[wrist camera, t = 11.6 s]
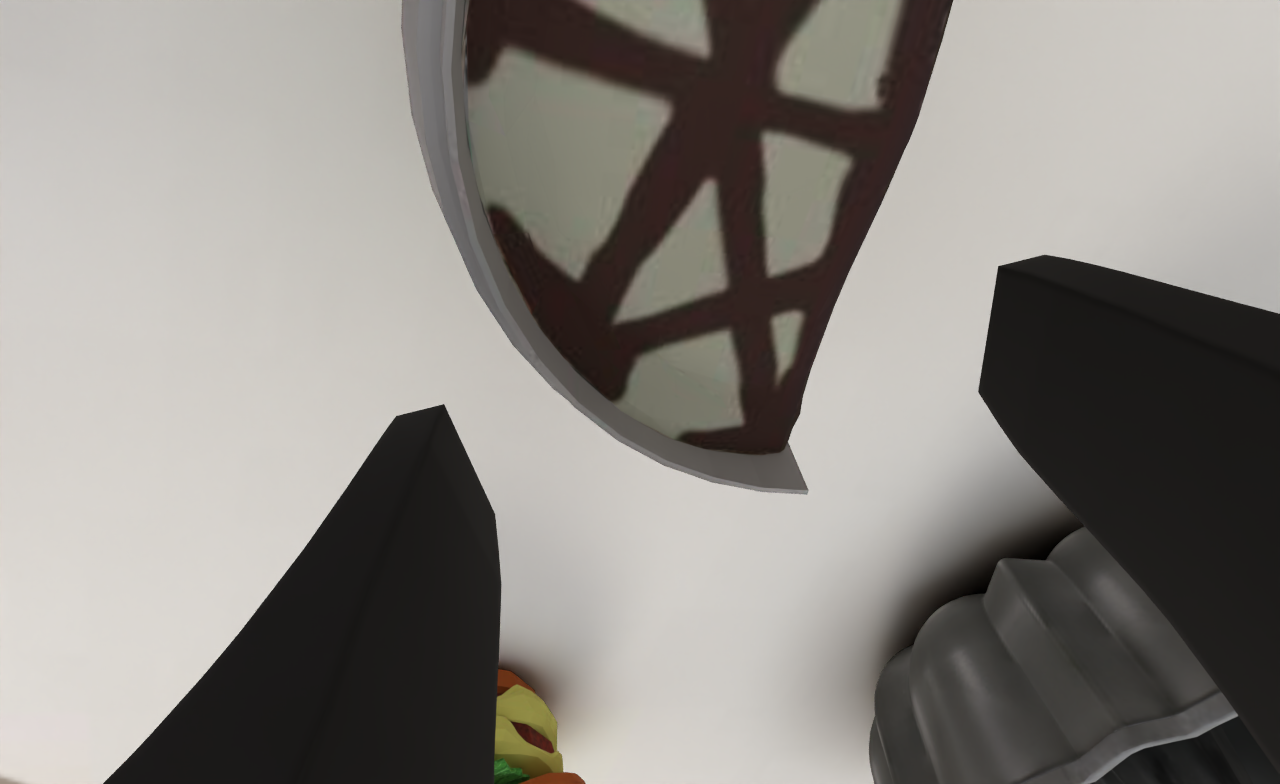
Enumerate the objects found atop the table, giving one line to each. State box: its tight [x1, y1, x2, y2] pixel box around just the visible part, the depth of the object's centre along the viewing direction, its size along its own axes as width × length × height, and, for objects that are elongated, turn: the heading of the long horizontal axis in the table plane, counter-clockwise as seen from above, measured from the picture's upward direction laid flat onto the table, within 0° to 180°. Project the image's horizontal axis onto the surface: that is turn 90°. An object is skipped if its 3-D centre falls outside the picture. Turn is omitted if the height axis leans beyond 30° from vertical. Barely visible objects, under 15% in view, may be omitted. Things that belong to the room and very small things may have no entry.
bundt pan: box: [869, 527, 1280, 784], centre depth 31 cm, size 26×26×10 cm
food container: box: [401, 0, 953, 494], centre depth 11 cm, size 12×6×10 cm, turn 171°
